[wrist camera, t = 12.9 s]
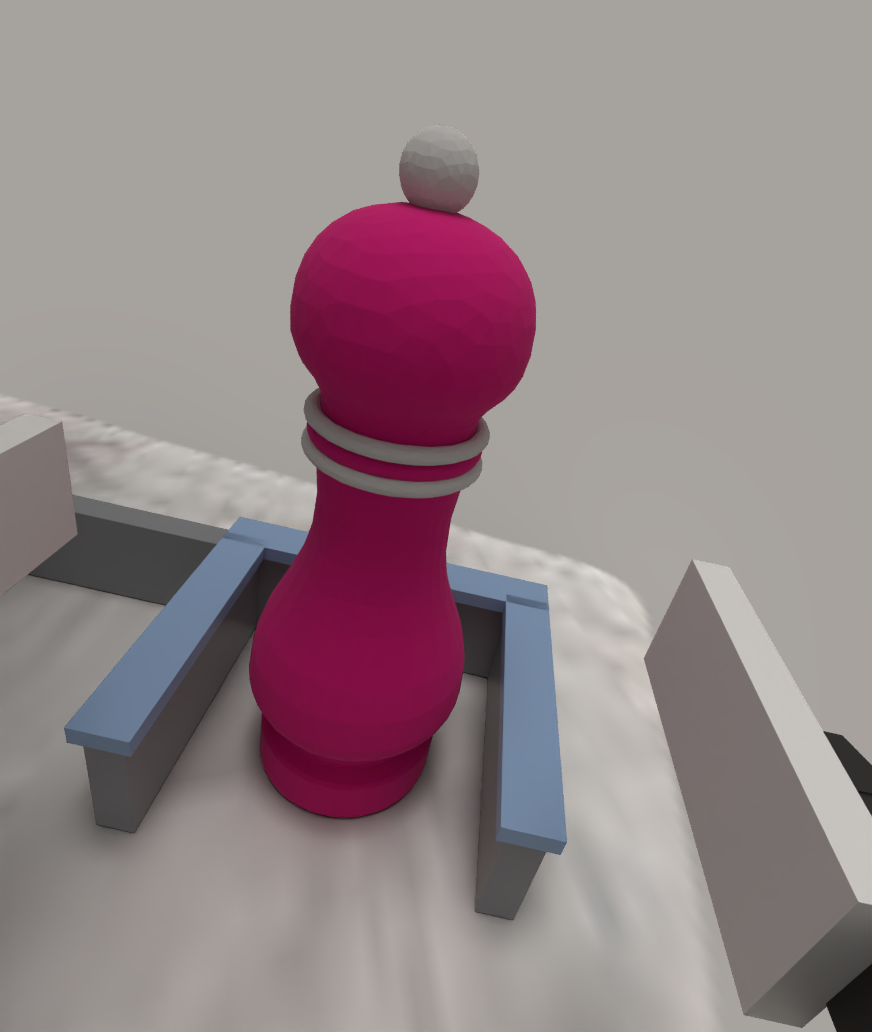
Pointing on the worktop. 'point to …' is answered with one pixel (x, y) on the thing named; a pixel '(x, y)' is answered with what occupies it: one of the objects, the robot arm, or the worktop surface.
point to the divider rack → (226, 629)
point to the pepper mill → (386, 481)
